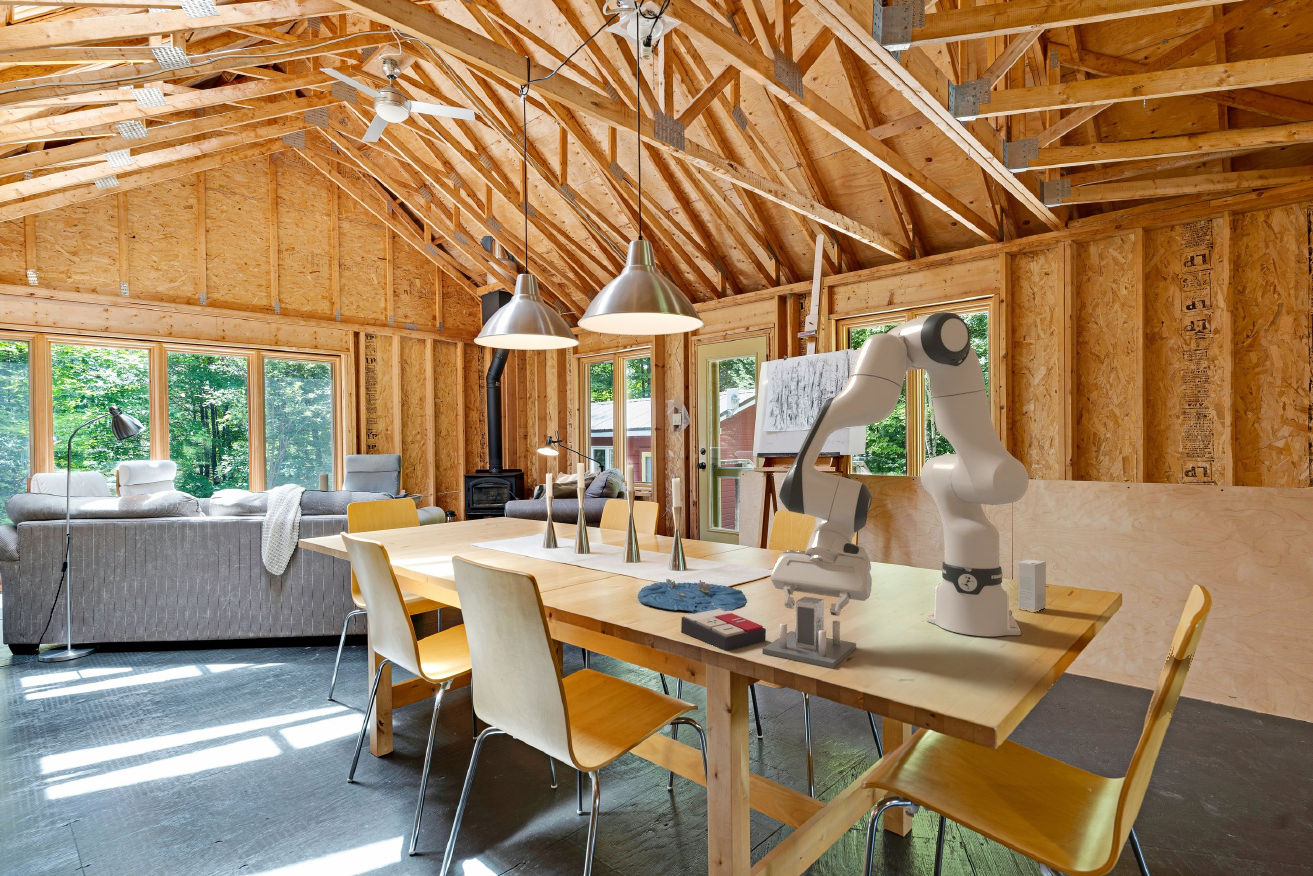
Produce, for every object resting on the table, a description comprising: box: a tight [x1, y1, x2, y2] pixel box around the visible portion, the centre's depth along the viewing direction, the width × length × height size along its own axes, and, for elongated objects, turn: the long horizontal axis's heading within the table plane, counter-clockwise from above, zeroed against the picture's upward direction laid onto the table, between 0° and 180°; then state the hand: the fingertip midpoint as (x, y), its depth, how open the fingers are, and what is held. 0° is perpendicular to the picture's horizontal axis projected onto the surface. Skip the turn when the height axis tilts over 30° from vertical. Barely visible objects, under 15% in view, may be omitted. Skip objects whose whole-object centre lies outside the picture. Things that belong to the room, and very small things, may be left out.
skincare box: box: [1017, 559, 1047, 611], centre depth 153 cm, size 6×4×12 cm
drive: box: [795, 596, 825, 651], centre depth 122 cm, size 5×4×9 cm
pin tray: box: [761, 614, 857, 669], centre depth 122 cm, size 14×14×6 cm
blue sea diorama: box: [637, 578, 748, 614], centre depth 164 cm, size 30×30×5 cm
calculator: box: [680, 608, 767, 652], centre depth 131 cm, size 11×4×15 cm
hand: (810, 610), depth 122 cm, fingers open, 8 cm apart
